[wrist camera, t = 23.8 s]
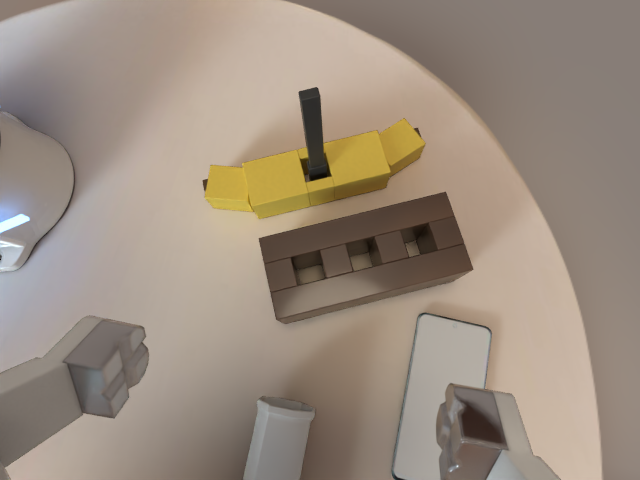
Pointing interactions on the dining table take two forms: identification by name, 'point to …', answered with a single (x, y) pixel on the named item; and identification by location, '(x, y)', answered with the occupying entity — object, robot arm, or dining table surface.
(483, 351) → the smartphone
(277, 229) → the dining table surface
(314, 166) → the dark grey stepped rod
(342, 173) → the banana
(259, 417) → the tube
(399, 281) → the cutlery block
